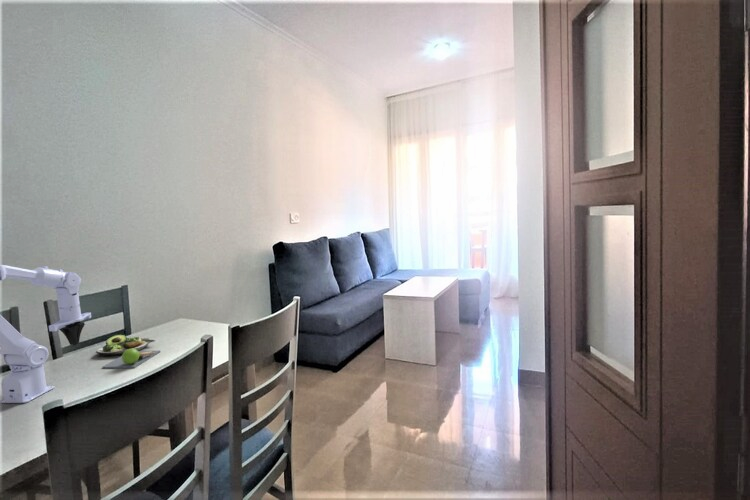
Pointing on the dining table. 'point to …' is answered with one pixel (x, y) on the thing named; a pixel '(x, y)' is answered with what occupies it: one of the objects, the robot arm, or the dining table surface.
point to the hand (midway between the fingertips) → (74, 344)
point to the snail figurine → (133, 355)
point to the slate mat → (120, 364)
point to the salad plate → (122, 345)
